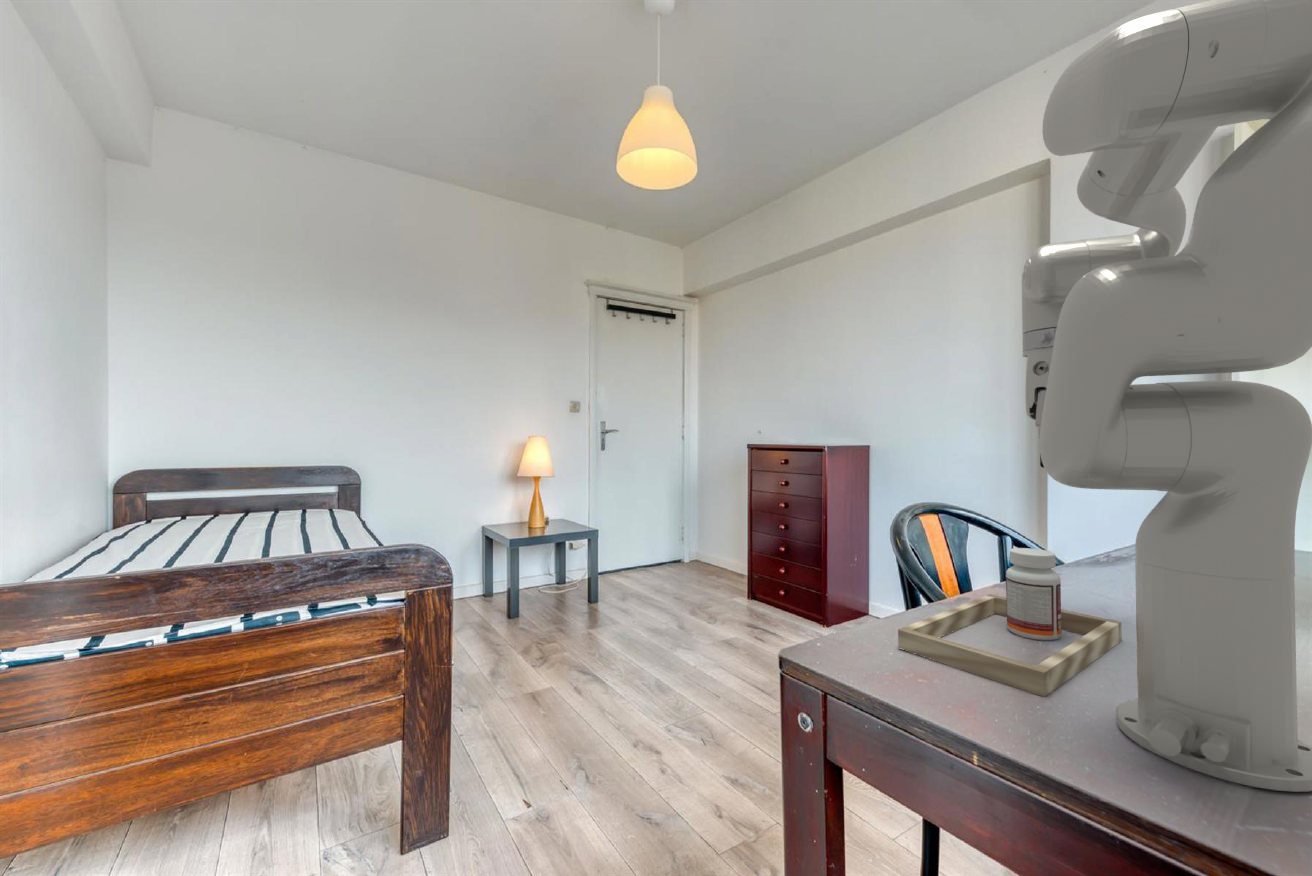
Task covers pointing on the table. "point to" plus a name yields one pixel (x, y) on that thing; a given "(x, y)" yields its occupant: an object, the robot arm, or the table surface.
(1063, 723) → the table surface
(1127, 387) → the robot arm
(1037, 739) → the table surface
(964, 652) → the tray frame
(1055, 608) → the pill bottle
